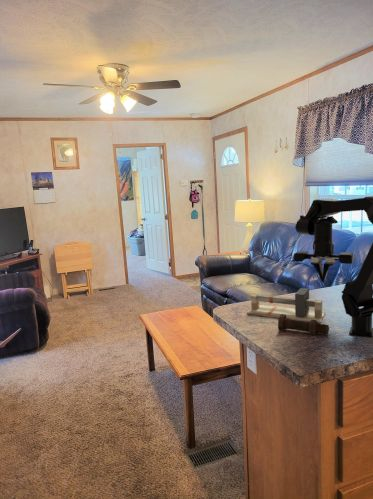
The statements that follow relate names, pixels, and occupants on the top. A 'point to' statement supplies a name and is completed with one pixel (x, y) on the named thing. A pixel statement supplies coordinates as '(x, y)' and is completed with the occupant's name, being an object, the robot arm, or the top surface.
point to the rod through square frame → (290, 312)
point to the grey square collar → (301, 302)
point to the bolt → (302, 325)
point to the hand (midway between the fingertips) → (323, 281)
